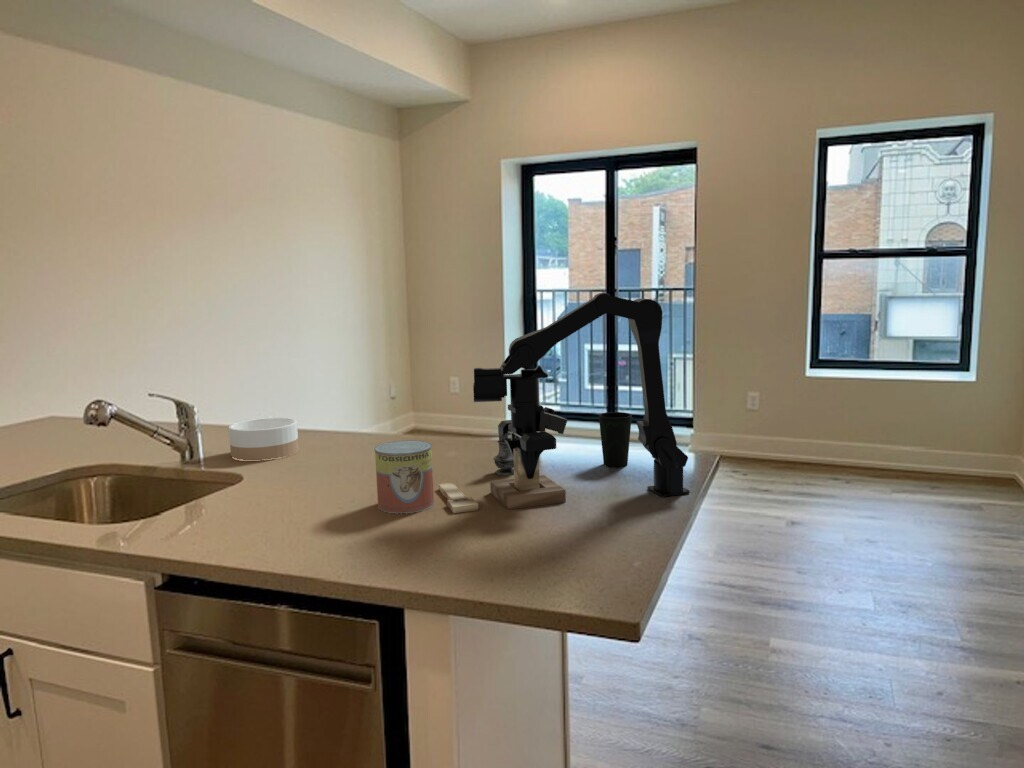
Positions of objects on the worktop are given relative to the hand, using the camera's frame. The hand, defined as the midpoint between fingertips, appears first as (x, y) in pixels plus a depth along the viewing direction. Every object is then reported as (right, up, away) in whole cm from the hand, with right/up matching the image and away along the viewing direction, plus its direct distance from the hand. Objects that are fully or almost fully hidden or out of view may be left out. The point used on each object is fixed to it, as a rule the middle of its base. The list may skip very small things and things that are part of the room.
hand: (526, 475), depth 147 cm
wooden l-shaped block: (-15, -5, +1) cm, 15 cm away
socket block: (0, -4, +1) cm, 5 cm away
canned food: (-24, -6, -2) cm, 25 cm away
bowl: (-69, 0, +46) cm, 83 cm away
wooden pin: (0, -3, 0) cm, 2 cm away
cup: (+22, -1, +24) cm, 33 cm away
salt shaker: (-4, -2, +20) cm, 21 cm away
